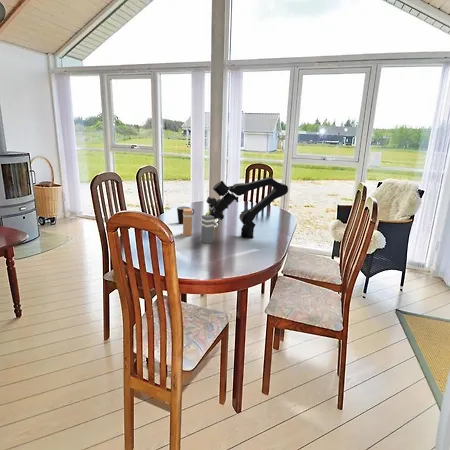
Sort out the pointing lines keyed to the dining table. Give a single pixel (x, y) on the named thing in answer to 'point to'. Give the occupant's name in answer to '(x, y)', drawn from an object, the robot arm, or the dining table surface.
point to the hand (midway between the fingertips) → (205, 221)
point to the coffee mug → (180, 213)
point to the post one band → (187, 222)
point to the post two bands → (207, 229)
